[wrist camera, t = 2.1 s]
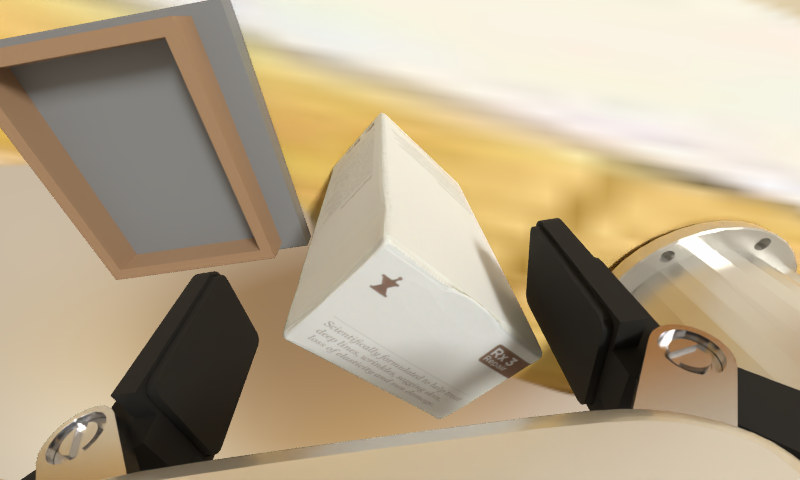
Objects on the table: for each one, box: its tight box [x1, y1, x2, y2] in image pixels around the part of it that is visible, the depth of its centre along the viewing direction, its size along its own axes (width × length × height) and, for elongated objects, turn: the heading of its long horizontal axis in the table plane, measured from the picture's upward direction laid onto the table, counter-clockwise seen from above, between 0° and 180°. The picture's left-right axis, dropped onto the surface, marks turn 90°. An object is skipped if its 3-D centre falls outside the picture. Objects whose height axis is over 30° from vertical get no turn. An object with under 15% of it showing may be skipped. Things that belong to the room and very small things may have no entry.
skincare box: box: [283, 113, 542, 419], centre depth 14 cm, size 6×4×12 cm
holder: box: [0, 0, 311, 280], centre depth 17 cm, size 12×12×2 cm
